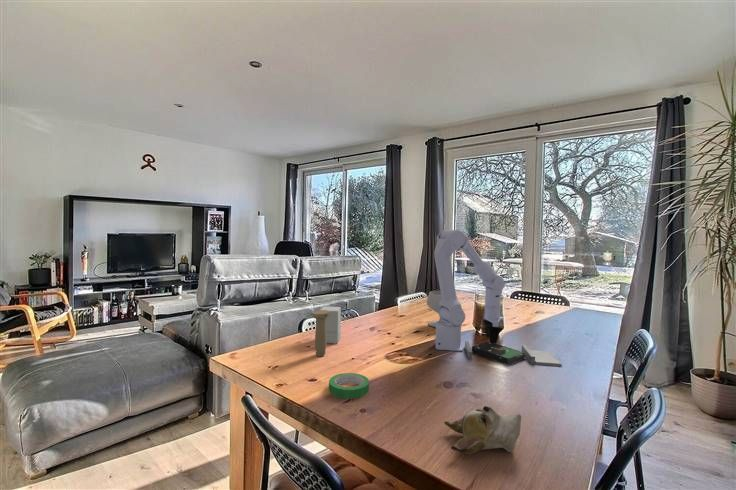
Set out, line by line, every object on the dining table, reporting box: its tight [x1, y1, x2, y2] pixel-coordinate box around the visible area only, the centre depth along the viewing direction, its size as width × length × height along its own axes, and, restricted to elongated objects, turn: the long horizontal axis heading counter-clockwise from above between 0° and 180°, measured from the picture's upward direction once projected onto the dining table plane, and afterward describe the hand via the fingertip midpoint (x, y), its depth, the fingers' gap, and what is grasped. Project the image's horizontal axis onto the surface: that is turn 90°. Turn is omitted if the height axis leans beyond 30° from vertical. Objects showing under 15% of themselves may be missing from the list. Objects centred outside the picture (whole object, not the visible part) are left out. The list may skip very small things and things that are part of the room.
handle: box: [311, 309, 330, 357], centre depth 123 cm, size 5×6×15 cm
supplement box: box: [320, 305, 342, 344], centre depth 139 cm, size 7×7×13 cm
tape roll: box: [328, 372, 370, 400], centre depth 99 cm, size 11×11×3 cm
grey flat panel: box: [464, 340, 563, 367], centre depth 126 cm, size 30×12×2 cm, turn 81°
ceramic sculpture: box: [443, 405, 522, 455], centre depth 74 cm, size 11×9×15 cm
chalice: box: [426, 290, 458, 328], centre depth 164 cm, size 14×14×15 cm
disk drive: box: [471, 341, 526, 366], centre depth 127 cm, size 10×3×15 cm
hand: (491, 340), depth 139 cm, fingers open, 7 cm apart
